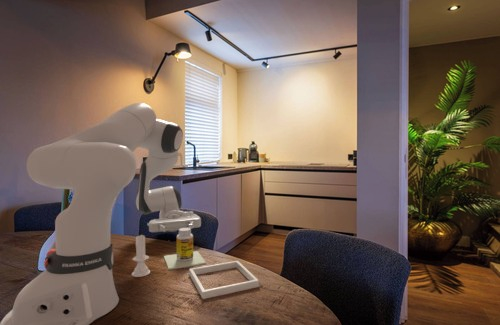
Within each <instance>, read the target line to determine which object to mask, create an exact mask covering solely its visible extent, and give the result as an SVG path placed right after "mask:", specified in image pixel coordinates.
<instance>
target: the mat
mask: <svg viewBox="0 0 500 325" xmlns="http://www.w3.org/2000/svg"><path fill="white" fill-rule="evenodd" d="M163 259H164V262H165V264H166V266H167V270H168V271H171V270H177V269H182V268H188V267H189V268H190V267H195V266H201V265H206V264H207V262H206V260H205V259H204V258H203V256H202V255H201V254H200V252H199V250H196V251H195V250H193V258H192V259H191V260H188V261H179V260H177V253H173V254H167V255H163Z"/></svg>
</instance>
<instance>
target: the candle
mask: <svg viewBox="0 0 500 325" xmlns="http://www.w3.org/2000/svg"><path fill="white" fill-rule="evenodd" d="M135 251H136V255H135V256H134V257H132V261H134V262H137V263H136V266H135V268H134V269H133V272H132V273H131V276H132V277H135V278H141V277H145V276H148V275H149V274H150V273H151V270H150V269H149V267H148V266H147V265H146V263H145V261H147V260H148V259H149V258H150V256H149V255H146V236H145V235H143V234H140V235H137V236H136V237H135Z"/></svg>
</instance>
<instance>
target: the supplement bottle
mask: <svg viewBox="0 0 500 325" xmlns="http://www.w3.org/2000/svg"><path fill="white" fill-rule="evenodd" d="M175 239H176V254H177V260H179V261H188V260H191V259H192V258H193V252H194V235H193V233H192V229H190V228H181V229H179V230H178V234H177V235H176V238H175Z"/></svg>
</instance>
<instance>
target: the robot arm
mask: <svg viewBox="0 0 500 325" xmlns="http://www.w3.org/2000/svg"><path fill="white" fill-rule="evenodd" d="M183 137H184V133H183V130H182V128H181V126H180V125H178V124H176V123H174V122H173V121H170V122H169V121H166V120H164V119H160V118H157V115H156V112H155V110H154V109H153V108H152V107H151V106H150V105H148V104H146V103H143V102H135V103H132V104H129V105H126V106H123V107H122V108H120V109H118V110H116V111H115V112H114V113H112V114H111V115H110V116H108V117H106V118H105V119H103V120H102V121H101V122H99V123H97V124H95V125H93V126H91V127H89V128H86V129H84V130H81V131H79V132H76V133H73V134H72V135H69V136H67V137H65V138H63V139H61V140H57V141H55V142H53V143H50V144H46V145H42V146H39V147H36V148H35V149H34V150H32V151H31V153H30V154H29V155H28V158H27V160H26V172H27V174H28V177H29V178H30V180H32V181H33V182H35V184H37V185H41V186H44V187H47V188H50V189H51V188H52V189H55V190H73V193H72V194H73V195H72V198H71V201H70V203H69V205H68V207H67V208H65V209H63V210H61V212H60V213H59V214H58V215H57V216H56V219H55V220H54V226H55V227H54V228H55V229H54V232H55V234H54V235H55V236H54V238H55V248H51V249H49V251H48V252H46V257H45V258H44V262H43V263H44V264H43V265H44V268H45V269H44V270H43V271H42V272H40V274H39V275H37V276H36V277H34V278H33V279H32V280H31V281H29V282H28V283H27V284H26V285H25V286H24V287H23V288H22V289H21V290H20V291H19V293H18V294H17V295H16V298H15V300H14V303H13V307H12V309H11V310H10V311H9V312H8V313H7V314H5V316H4V317H3V318H2V320H1V321H0V325H90V324H91V323H93V322H94V321H96V320H98V319H99V318H101V317H103V316H105V315H106V314H108V313H109V312H111V311H112V310H113V309H114V308H116V307H117V305H118V303H119V301H120V298H119V296H118V292H117V288H116V286H115V281H114V276H113V267H114V249H113V243H111V219H112V211H113V208H114V206H115V202H116V201H117V197H118V196H119V195H120V194H121V192H122V190H123V189H124V188H126V187H127V186H128V185H129V184H130V183H131V182H132V181H133V179H134V178H135V176H136V174H137V165H138V164H137V160H136V157H135V155H134V153H133V152H134V151H135V150H136V149H137V148H142V149H145V150H147V151H148V156H147V157H146V159H145V160H144V161H143V162H141V164H140V168H139V175H138V186H137V193H136V198H135V206H136V209H137V211H138V212H140V213H142V214H144V215H148V214H151V213H154V212H158V211H159V218H154V219H151V220H150V221H149V222H147V224H146V225H147V226H148V231H149V232H150V233H160V232H162V233H167V232H171V233H172V232H173V233H174V232H177V231H179V229H181V228H190V229H191V230H192V229H194V228H195V229H196V228H200V227H201V225H202V218H201V217H200V216H199V215H198V214H197V213H194V211H193V210H181V207H182V203H183V202H182V196H181V194H180V191H179V189H178V188H176V187H175V186H173V185H169V186H168V185H167V186H164V187H157V188H153V189H150V185H151V184H150V183H151V181H152V180H153V179H155V178H157V177H158V176H160V175H162V174H165V173H166V172H169V171H170V170H172V169H173V168H174V167H175V166H176V164H177V163H178V156H179V149H180V148H181V146H182V143H183V139H184V138H183Z"/></svg>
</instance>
